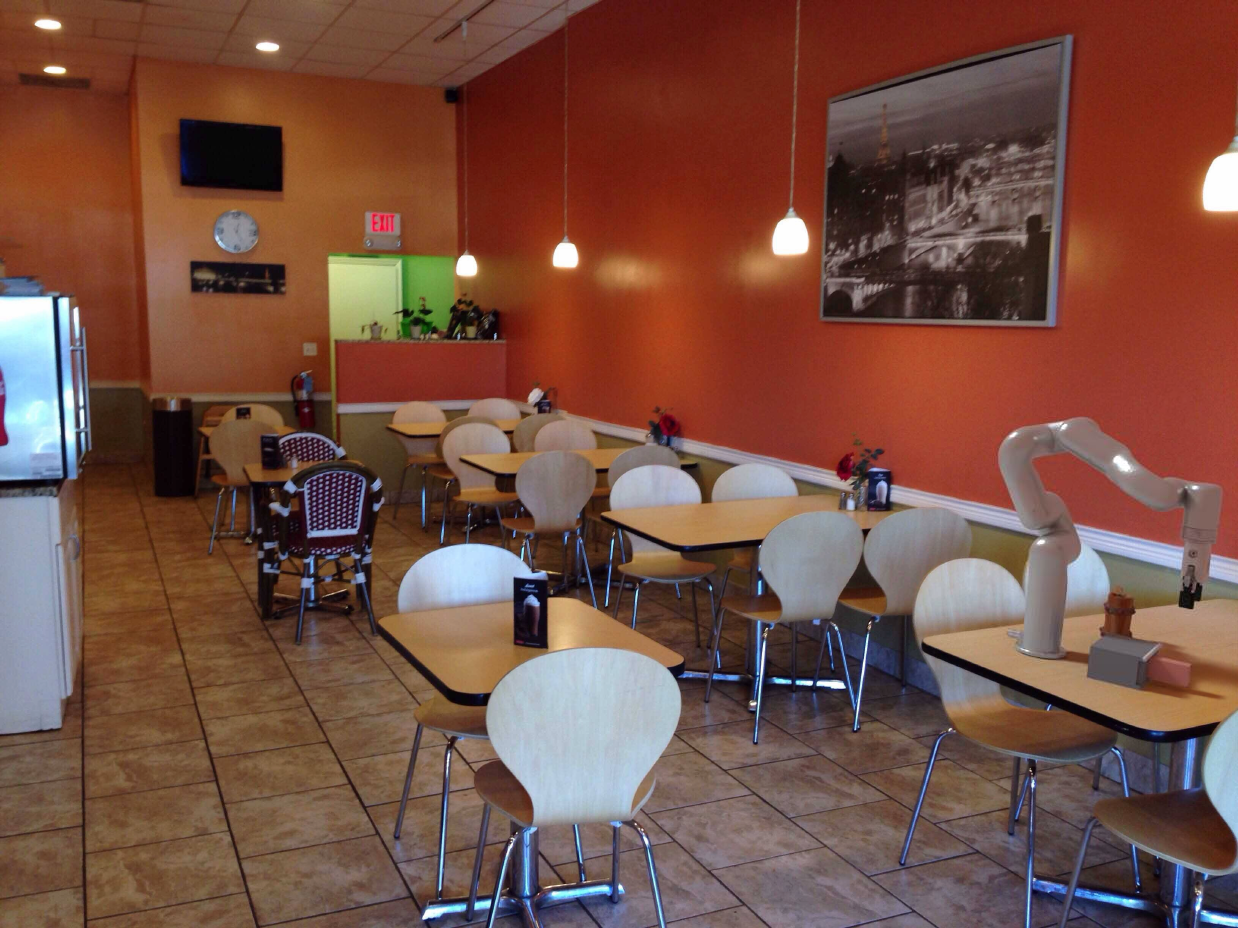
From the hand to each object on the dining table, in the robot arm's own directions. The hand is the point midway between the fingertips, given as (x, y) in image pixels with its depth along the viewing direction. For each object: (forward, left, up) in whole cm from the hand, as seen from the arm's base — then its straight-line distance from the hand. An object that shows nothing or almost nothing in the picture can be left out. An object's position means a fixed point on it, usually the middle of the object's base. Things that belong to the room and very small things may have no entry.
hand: (1189, 604), depth 250 cm
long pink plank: (-6, -4, -19) cm, 20 cm away
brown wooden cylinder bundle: (-21, +24, -20) cm, 38 cm away
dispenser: (-12, -4, -20) cm, 24 cm away
